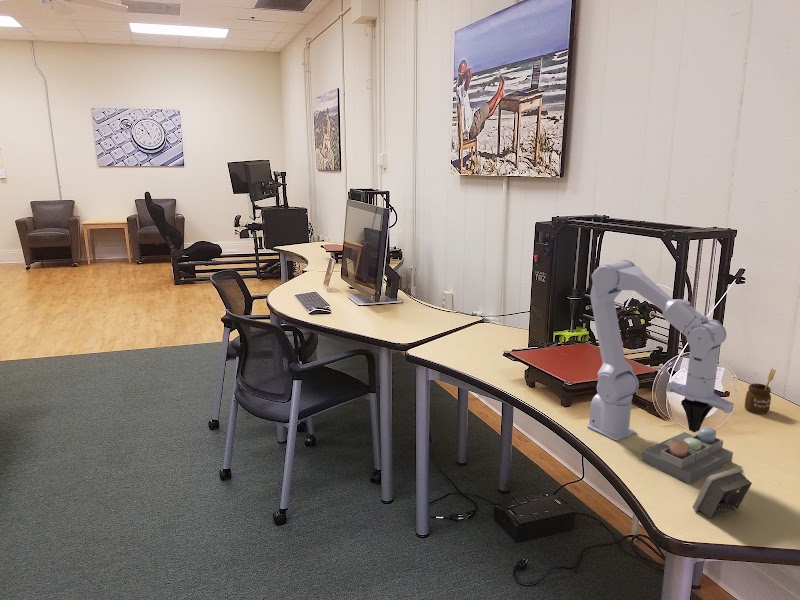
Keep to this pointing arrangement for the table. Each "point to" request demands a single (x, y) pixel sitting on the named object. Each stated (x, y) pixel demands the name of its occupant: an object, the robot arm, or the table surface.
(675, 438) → the console
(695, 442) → the sage button
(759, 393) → the utensil holder
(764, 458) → the table surface
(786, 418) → the table surface
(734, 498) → the electrical switch
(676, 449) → the terracotta button
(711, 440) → the slate button
